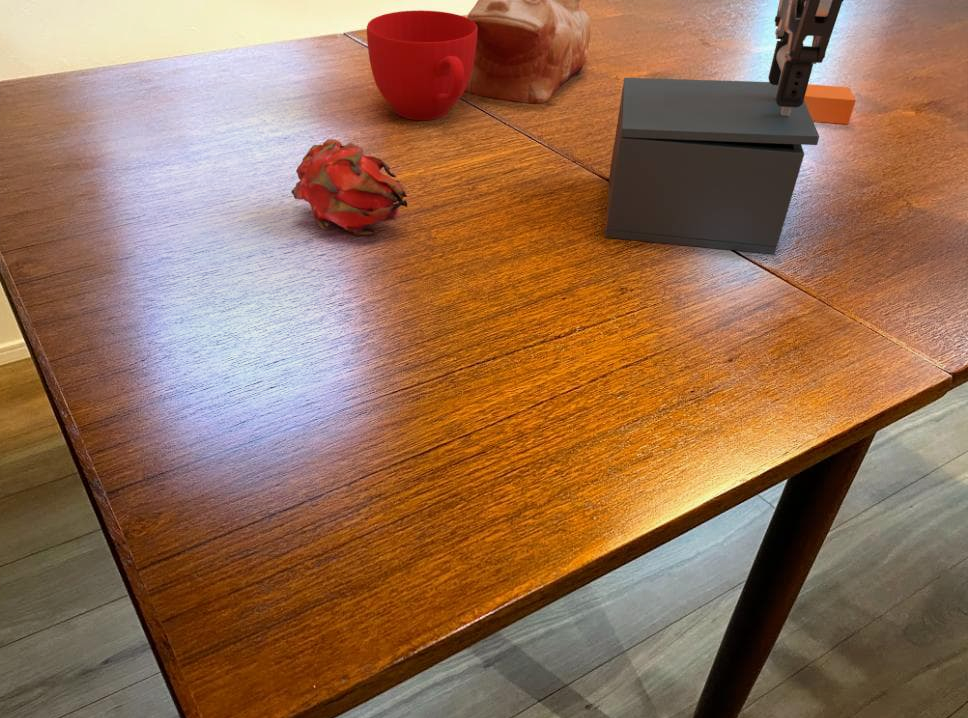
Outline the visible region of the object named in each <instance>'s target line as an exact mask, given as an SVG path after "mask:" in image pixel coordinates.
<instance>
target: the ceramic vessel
mask: <svg viewBox="0 0 968 718" xmlns="http://www.w3.org/2000/svg"><path fill="white" fill-rule="evenodd" d="M580 2H581V0H477V2H476V3H475V4H474V6H473V8H471V10H470V11H469V12H468V14H467V18H468V19H470V20H472V21H473V22H475V23H476V25H477V28H478V31H477V43H476V51H475V58H474V64H473V69H472V73H471V76H470V80H469V82H468V85H467V87H466V89H465V91H464V92H467V93H471V94H476V95H479V96H484V97H486V98H491V99H492V98H493V99H497V100H504V101H511V102H518V103H519V102H520V103H526V104H544V103H548V102H550V100H551V98H552V96H553V95H554V93H555V92H557V91H559V90H560V88H561V87H562V86H563V85H564V84H565V83H567V82H568V81H569V80H571V79H572V78H573V77H575V76H578V75H579V74H580V73H581V72H582V69H583V67H584V65H585V63H586V61H587V60H588V50H589V45H590V40H591V31H592V28H591V21H590V18H589V16H588V14H587V12H585V11H584V10H583V9H581V8H580Z"/></svg>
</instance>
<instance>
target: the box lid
mask: <svg viewBox="0 0 968 718" xmlns="http://www.w3.org/2000/svg"><path fill="white" fill-rule="evenodd" d="M787 45H788V44H787ZM787 45H784V46H783V47H781V48H780V49H779V51H778V52H777V56H776V59H777V62H778V65H779V68H780V70H781V74H780V78H779V83H780V79H781V75H782V71H783V67H784V63H785V52H786V51H787ZM779 83H778V85H772V84H770V82H769V81H751V80H750V81H748V80H719V79H717V80H716V79H715V80H714V79H713V80H711V79H710V80H709V79H685V78H684V79H682V78H648V77H624V78H623V84H622V89H623V106H622V130H621V137H631V138H655V139H679V140H703V141H728V142H752V143H776V144H800V145H802V146H817V145H818V143H819V140H820V135H819V132H818V130H817V127H816V125H815V123H814V122H813V120H812V118H811V115H810V113H809V110H808V108H807V106H806V103H805V101H803V104H802V105H801V106H799V107H782V106H779V105H778V104H777V102H776V95H777V91H778V87H779Z"/></svg>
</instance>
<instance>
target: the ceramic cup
mask: <svg viewBox="0 0 968 718" xmlns="http://www.w3.org/2000/svg"><path fill="white" fill-rule="evenodd" d="M477 31H478V28H477V25H476V23H475V22H473V21H472V20H470V19H468V17H466V16H463V15H460V14H456V13H451V12H445V11H439V10H424V9H423V10H402V11H401V10H400V11H395V12H389V13H385V14H381V15H378V16H375V17H374V18H372V19H371V20H369V21H368V23H367V24H366V41H367V50H368V51H367V52H368V58H369V64H370V69H371V73H372V76H373V80H374V83H375V85H376V88H377V89H378V92H379V93H380V94H381V96H382V97H383V99H384V100H385V101H386V103H387V104H388V105H389V106H390V107H391V108H392V109H393V110H394V113H395V114H396V115H398V116H400V117H402V118H405V119H409V120H415V121H430V120H431V121H432V120H436V119H439V118H442V117H444V116H446V115H447V114H448V113H449V111H450V110H451V109H452V108H453V107H454V106H455V105H456V103H458V101H459V100H460V99H461V97H462V95H463V94H464V93H465V92H466V91H465V89H466V87H467V85H468V82H469V80H470V76H471V73H472V69H473V64H474V58H475V51H476V43H477Z"/></svg>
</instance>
